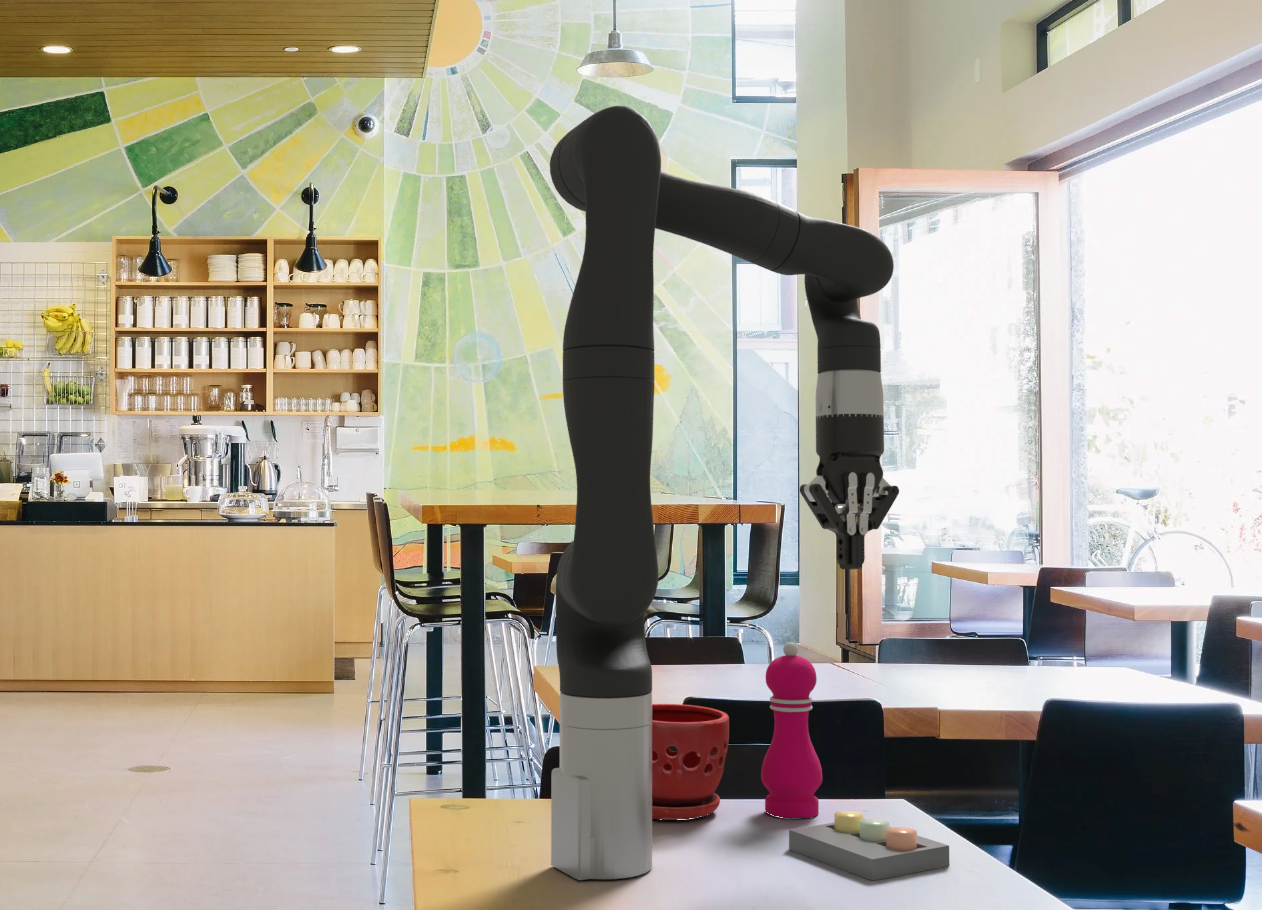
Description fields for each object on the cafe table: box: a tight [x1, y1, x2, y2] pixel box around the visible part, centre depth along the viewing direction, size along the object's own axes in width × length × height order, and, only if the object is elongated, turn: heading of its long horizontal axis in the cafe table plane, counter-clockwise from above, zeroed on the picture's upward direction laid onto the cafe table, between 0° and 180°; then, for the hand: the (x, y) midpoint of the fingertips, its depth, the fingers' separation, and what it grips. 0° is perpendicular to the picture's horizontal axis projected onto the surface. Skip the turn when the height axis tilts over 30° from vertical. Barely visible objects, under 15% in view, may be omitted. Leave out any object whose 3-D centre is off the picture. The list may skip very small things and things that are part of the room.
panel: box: [788, 822, 950, 881], centre depth 124 cm, size 10×13×2 cm
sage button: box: [860, 818, 890, 842], centre depth 125 cm, size 3×3×3 cm
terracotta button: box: [886, 826, 918, 852], centre depth 121 cm, size 3×3×3 cm
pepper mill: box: [760, 641, 823, 819], centre depth 144 cm, size 7×7×20 cm
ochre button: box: [833, 810, 864, 834], centre depth 128 cm, size 3×3×3 cm
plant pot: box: [652, 703, 730, 821], centre depth 143 cm, size 13×13×12 cm
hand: (850, 568), depth 135 cm, fingers closed
